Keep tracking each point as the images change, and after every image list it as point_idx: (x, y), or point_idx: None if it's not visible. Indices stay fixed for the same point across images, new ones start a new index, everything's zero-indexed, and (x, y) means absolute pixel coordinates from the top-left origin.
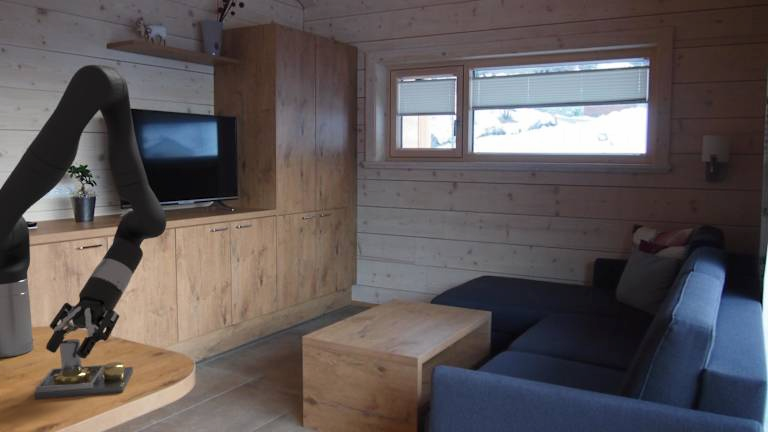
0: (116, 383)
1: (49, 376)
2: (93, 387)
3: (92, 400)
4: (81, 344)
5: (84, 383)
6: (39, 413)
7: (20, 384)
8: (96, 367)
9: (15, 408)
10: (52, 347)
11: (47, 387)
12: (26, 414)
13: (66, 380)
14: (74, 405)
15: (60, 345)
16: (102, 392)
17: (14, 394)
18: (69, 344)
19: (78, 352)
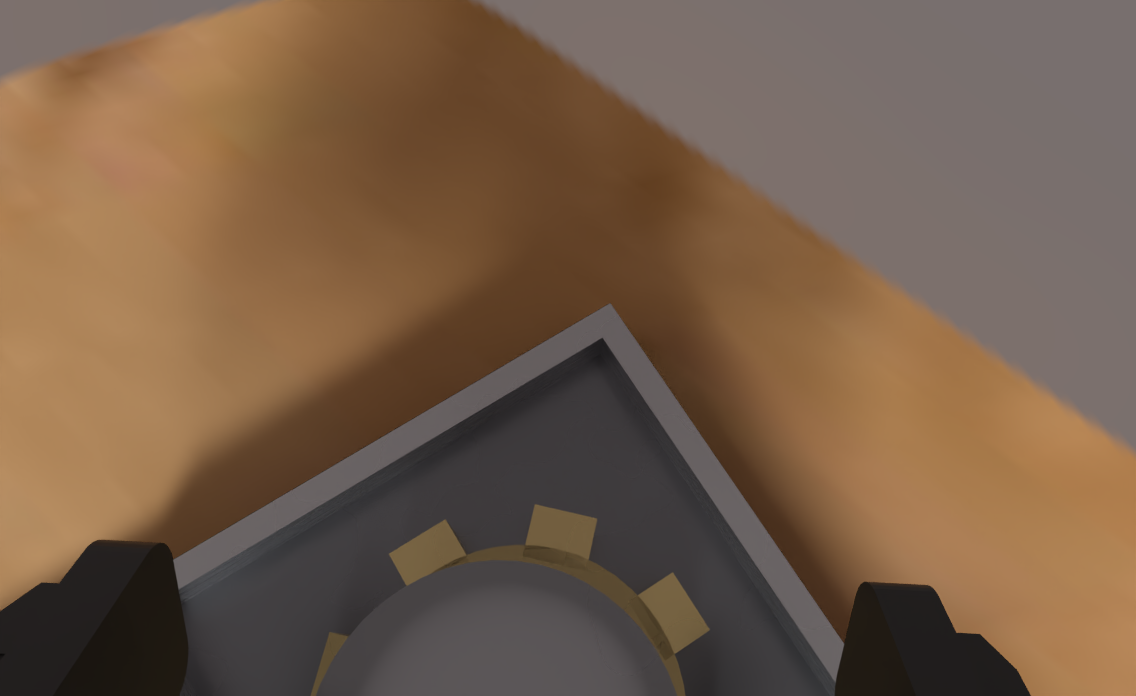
0: None
1: (794, 629)
2: None
3: (84, 505)
4: (65, 658)
5: (189, 562)
6: (349, 159)
7: (1098, 564)
8: None
9: (619, 164)
10: (865, 671)
11: (518, 361)
12: (435, 117)
13: (429, 532)
14: (176, 364)
15: (567, 574)
16: None
17: (904, 363)
18: (379, 628)
19: (103, 541)
